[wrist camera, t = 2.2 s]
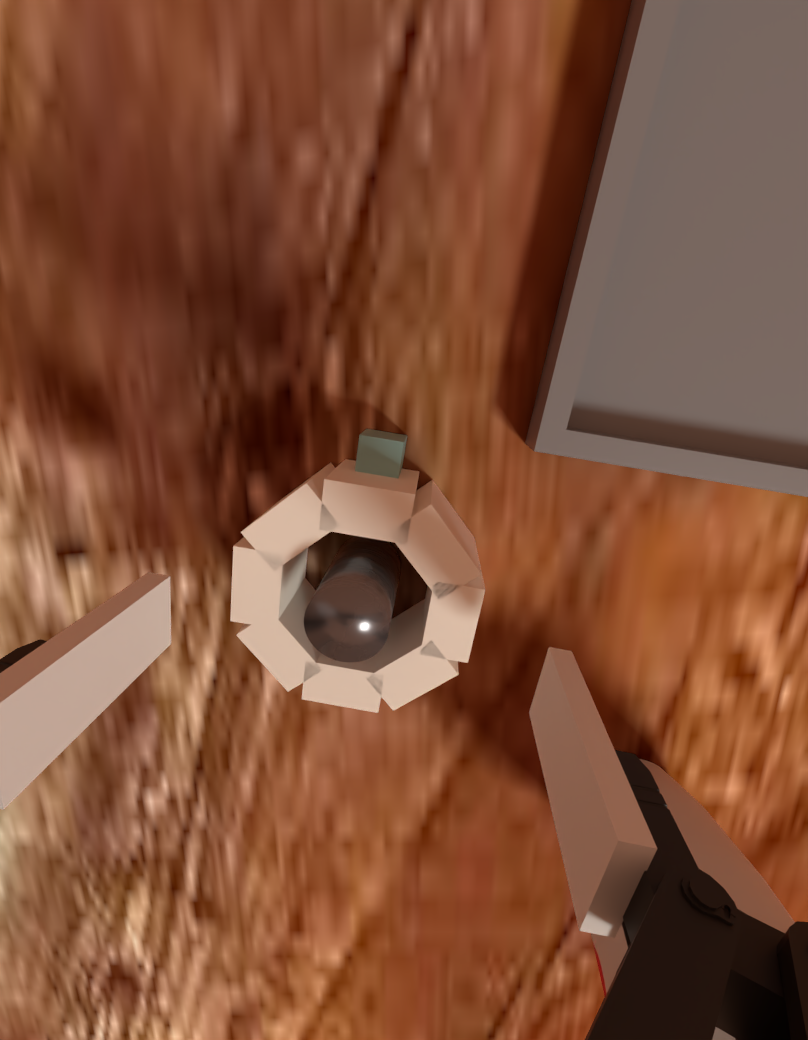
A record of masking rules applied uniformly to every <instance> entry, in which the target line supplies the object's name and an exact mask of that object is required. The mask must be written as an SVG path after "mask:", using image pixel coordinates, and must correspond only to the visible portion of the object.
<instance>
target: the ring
mask: <svg viewBox="0 0 808 1040" xmlns="http://www.w3.org/2000/svg"><path fill="white" fill-rule="evenodd" d="M406 440H407V435H402V434H396V433H390V432H384V431H378V430H372V429H366V430H365V431H363V432H362V433H361V434H360V435H359V442H358V450H357V459H356V461H355V460H349V459H345V460H344V461H343V462H341V463H340V464H339V465H338V466H337V467H336V468H335V467H334V466H333V464H332V463H329V464H328V465H326V466H325V467H324V468H322V469H321V470H320V471H318V472H317V473H316V474H314V475H313V476H312V477H310V478H309V479H308V480H306V481H305V482H304V483H302V484H301V485H300V486H298V487H297V488H296V489H294V490H293V491H292V492H290V493H289V494H288V495H286V496H285V497H284V498H282V499H281V500H280V501H278V502H277V503H276V504H274V505H273V506H272V507H271V508H269V509H268V510H267V511H266V512H265V513H263V514H262V515H261V516H260V517H258V518H257V519H256V520H255V521H254V522H252V523H251V524H250V525H249V526H247V527H246V528H245V529H244V530H243V531H241V533H242V535H243V536H244V537H243V538H242V539H241V540H240V541H239V542H237V543H236V544H235V545H234V546H233V567H232V593H231V620H230V621H234V622H240V623H245V624H244V625H243V627H242V628H241V629H240V631H239V632H238V633H237V634H236V635H237V637H238V638H239V639H240V640H241V641H242V642H243V643H244V644H245V645H246V646H247V647H248V649H249V650H250V651H251V652H252V653H253V654H254V655H255V656H256V657H257V658H258V660H259V661H260V662H261V663H262V664H263V665H264V666H265V667H266V668H267V669H268V670H269V672H270V673H271V674H272V675H273V676H274V677H275V678H276V679H277V680H278V681H279V682H280V684H281V685H282V686H283V687H284V688H285V689H286V690H287V691H290V690H292V689H293V688H295V687H297V686H298V685H300V684H301V683H303V691H302V699H304V700H309V701H315V702H320V703H326V704H331V705H337V706H342V707H348V708H353V709H359V710H365V711H370V712H376V713H378V711H379V705H380V700H381V697H382V698H383V699H384V700H385V702H386V703H387V704H388V705H389V706H390V707H391V709H392V710H393V711H394V710H395V709H397V708H399V707H401V706H403V705H405V704H406V703H408V702H410V701H412V700H414V699H415V698H417V697H419V696H421V695H423V694H424V693H426V692H428V691H430V690H432V689H434V688H435V687H437V686H439V685H441V684H443V683H444V682H446V681H448V680H450V679H452V678H453V677H455V676H457V675H459V672H458V661H459V662H465V663H468V661H469V656H470V652H471V648H472V644H473V639H474V635H475V631H476V627H477V623H478V618H479V614H480V610H481V606H482V602H483V597H484V593H485V586H484V581H483V577H482V572H481V567H480V562H479V557H478V553H477V548H476V543H475V538H474V536H473V535H472V534H471V532H470V531H469V530H468V528H467V527H466V525H465V524H464V523H463V521H462V520H461V518H460V517H459V516H458V514H457V513H456V511H455V510H454V509H453V507H452V506H451V504H450V503H449V502H448V500H447V499H446V498H445V496H444V495H443V493H442V492H441V491H440V489H439V488H438V486H437V485H436V484H435V482H434V481H433V479H432V480H431V481H430V482H428V483H427V484H425V485H424V486H422V487H421V488H419V489H418V490H417V484H418V478H419V472H420V471H414V470H408V469H402V466H403V459H404V453H405V447H406ZM329 532H337V533H342V534H348V535H354V536H360V537H366V538H371V539H377V540H383V541H389V542H394V543H396V545H397V546H398V547H399V549H400V550H401V551H402V553H403V554H404V555H405V556H406V558H407V559H408V560H409V562H410V563H411V564H412V566H413V567H414V568H415V569H416V571H417V572H418V573H419V575H420V576H421V577H422V579H423V580H424V581H425V582H426V584H427V590H426V595H425V599H424V600H422V601H420V602H419V603H417V604H415V605H414V606H412V607H411V608H409V609H407V610H406V611H404V612H402V613H401V614H399V615H397V616H396V617H394V618H393V619H391V624H390V629H389V634H388V638H387V640H386V643H385V644H384V646H383V647H382V649H381V650H380V651H379V652H378V653H377V654H375V655H374V656H372V657H371V658H369V659H366V660H363V661H359V662H340V661H336V660H333V659H331V658H329V657H326V656H325V655H323V654H322V653H320V652H319V651H318V650H317V649H316V648H315V647H314V646H313V645H312V644H311V642H310V641H309V639H308V637H307V635H306V632H305V628H304V615H305V611H306V608H307V606H308V604H309V603H310V601H311V599H312V597H313V595H314V594H315V592H316V590H315V589H314V588H313V587H312V585H311V584H310V583H309V582H308V581H307V579H306V578H305V575H306V564H307V554H308V547H309V546H311V545H312V544H314V543H315V542H316V541H318V540H319V539H321V538H322V537H324V536H325V535H326V534H328V533H329Z"/></svg>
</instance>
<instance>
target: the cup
mask: <svg viewBox="0 0 808 1040" xmlns="http://www.w3.org/2000/svg"><path fill="white" fill-rule="evenodd" d="M640 760H641V762H642V763H643V764H644V765H645V766H646V767H647V768H648V769H649V770H650V772H651V774H652V776H653V778H654V780H655V782H656V784H657V786H658V788H659V790H660V791H659V792H660V793H661V794H662V796H663V798H664V800H665V802H666V804H667V809H669V810H670V812H671V814H672V816H673V818H674V820H675V822H676V824H677V826H678V828H679V830H680V832H681V834H682V836H683V838H684V840H685V842H686V844H687V846H688V848H689V850H690V852H691V854H692V856H693V858H694V860H695V862H696V864H697V866H698V868H699V869H700V870H702V871H703V872H705V873H707V874H708V875H710V876H711V877H712V878H713V879H715V880H716V881H717V882H718V883H719V884H720V885H721V886H722V887H723V888H724V889H725V890H726V891H727V893H728V894H729V895H730V897H731V898H732V899H733V901H734V902H735V904H736V907H737V909H739V910H741V911H742V912H744V913H746V914H747V915H749V916H751V917H753V918H755V919H757V920H759V921H761V922H763V923H765V924H767V925H769V926H771V927H773V928H775V929H777V930H779V931H781V932H783V933H786V932H787V930H788V929H789V927H790V926H791V925H793V924H794V923H795V922H794V921H793V919H792V918H791V916H790V915H789V913H788V912H787V911H786V909H785V908H784V906H783V905H782V904H781V902H780V901H779V899H778V898H777V897H776V895H775V894H774V892H773V891H772V890H771V888H770V887H769V885H768V884H767V883H766V881H765V880H764V879H763V877H762V876H761V875H760V874H759V872H758V871H757V870H756V869H755V868H754V867H753V865H752V864H751V863H750V862H749V861H748V859H747V858H746V857H745V856H744V855H743V853H742V852H741V851H740V850H739V849H738V848H737V846H736V845H735V844H734V843H733V842H732V840H731V839H730V838H729V837H728V836H727V834H726V833H725V832H724V831H723V830H722V828H721V827H720V826H719V825H718V824H717V823H716V821H715V820H714V819H713V818H712V817H711V815H710V814H709V813H708V812H707V811H706V809H705V808H704V807H703V806H702V805H701V804H700V803H699V802H698V801H697V800H695V799H694V798H693V797H692V796H691V795H690V794H689V793H688V792H687V791H686V790H685V789H684V788H682V787H681V786H680V785H679V784H678V783H677V782H676V781H675V780H674V779H673V778H672V777H671V776H670V775H668V774H667V773H666V772H665V771H664V770H663V769H662V768H661V767H659V766H658V765H656V764H654V763H652V762H649V761H646V760H642V759H640ZM591 936H592V940H593V945H594V949H595V954H596V958H597V963H598V967H599V972H600V976H601V981H602V985H603V990H604V994H605V996H606V994H607V992H608V990H609V987H610V985H611V983H612V981H613V979H614V977H615V975H616V972H617V970H618V968H619V965H620V963H621V961H622V959H623V957H624V955H625V953H626V951H627V949H628V947H629V945H630V943H631V942H630V939H629V936H628V932H627V929H626V926H625V923H624V920H623V922H622V924H621V926H620V928H619V930H618V933H617V935H616V937H615V938H612V937H608V936H603V935H598V934H593V933H591ZM712 1040H735V1038H734V1037H732V1036H731V1035H729V1034H727V1033H726V1032H724V1031H722V1030H721V1029H719V1028H717V1027H715V1031H714V1035H713V1039H712Z"/></svg>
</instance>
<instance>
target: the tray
mask: <svg viewBox="0 0 808 1040" xmlns="http://www.w3.org/2000/svg"><path fill="white" fill-rule="evenodd" d="M525 444H526V445H528V446H529V447H530V448H531V449H532V450H533V451H536V452H542V453H548V454H554V455H560V456H566V457H572V458H578V459H584V460H590V461H596V462H602V463H608V464H614V465H620V466H626V467H632V468H638V469H644V470H650V471H656V472H662V473H668V474H674V475H680V476H686V477H692V478H698V479H704V480H710V481H716V482H722V483H728V484H734V485H740V486H746V487H752V488H758V489H764V490H770V491H775V492H781V493H787V494H793V495H799V496H805V497H808V0H632V1H631V5H630V10H629V14H628V18H627V22H626V26H625V30H624V35H623V39H622V43H621V47H620V51H619V55H618V59H617V64H616V68H615V72H614V76H613V80H612V84H611V89H610V93H609V97H608V101H607V105H606V109H605V113H604V118H603V122H602V126H601V130H600V134H599V138H598V142H597V147H596V151H595V155H594V159H593V163H592V167H591V172H590V176H589V180H588V184H587V188H586V192H585V196H584V201H583V205H582V209H581V213H580V217H579V221H578V226H577V230H576V234H575V238H574V242H573V246H572V250H571V255H570V259H569V263H568V267H567V271H566V275H565V280H564V284H563V288H562V292H561V296H560V300H559V304H558V309H557V313H556V317H555V321H554V325H553V329H552V333H551V338H550V342H549V346H548V350H547V354H546V358H545V363H544V367H543V371H542V375H541V379H540V383H539V387H538V392H537V396H536V400H535V404H534V408H533V412H532V417H531V421H530V425H529V429H528V433H527V437H526V441H525Z"/></svg>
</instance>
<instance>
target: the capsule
mask: <svg viewBox="0 0 808 1040" xmlns="http://www.w3.org/2000/svg"><path fill="white" fill-rule="evenodd" d="M400 572H401V562H400V558H399V555H398V553H397V551H396V550H395V548H394V547H393V546H392V545H391V544H390V543H389V542H388V541H383V540H377V539H371V538H366V537H360V536H355V537H353V538H351V539H349V540H347V541H346V542H345V543H344V544H343V545H342V546H341V547H340V549H339V551H338V552H337V554H336V556H335V558H334V560H333V561H332V563H331V565H330V567H329V569H328V570H327V572H326V574H325V576H324V578H323V579H322V581H321V583H320V585H319V586H318V588H317V590H316V592H315V594H314V595H313V597H312V599H311V601H310V603H309V604H308V606H307V608H306V611H305V615H304V628H305V632H306V635H307V637H308V639H309V641H310V642H311V644H312V645H313V646H314V647H315V648H316V649H317V650H318V651H319V652H320V653H322V654H323V655H325V656H326V657H329V658H331V659H333V660H336V661H340V662H359V661H363V660H366V659H369V658H371V657H372V656H374V655H375V654H377V653H378V652H379V651H380V650H381V649H382V647H383V646H384V644H385V643H386V640H387V638H388V634H389V629H390V624H391V618H392V613H393V608H394V603H395V598H396V592H397V587H398V582H399V577H400Z"/></svg>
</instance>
